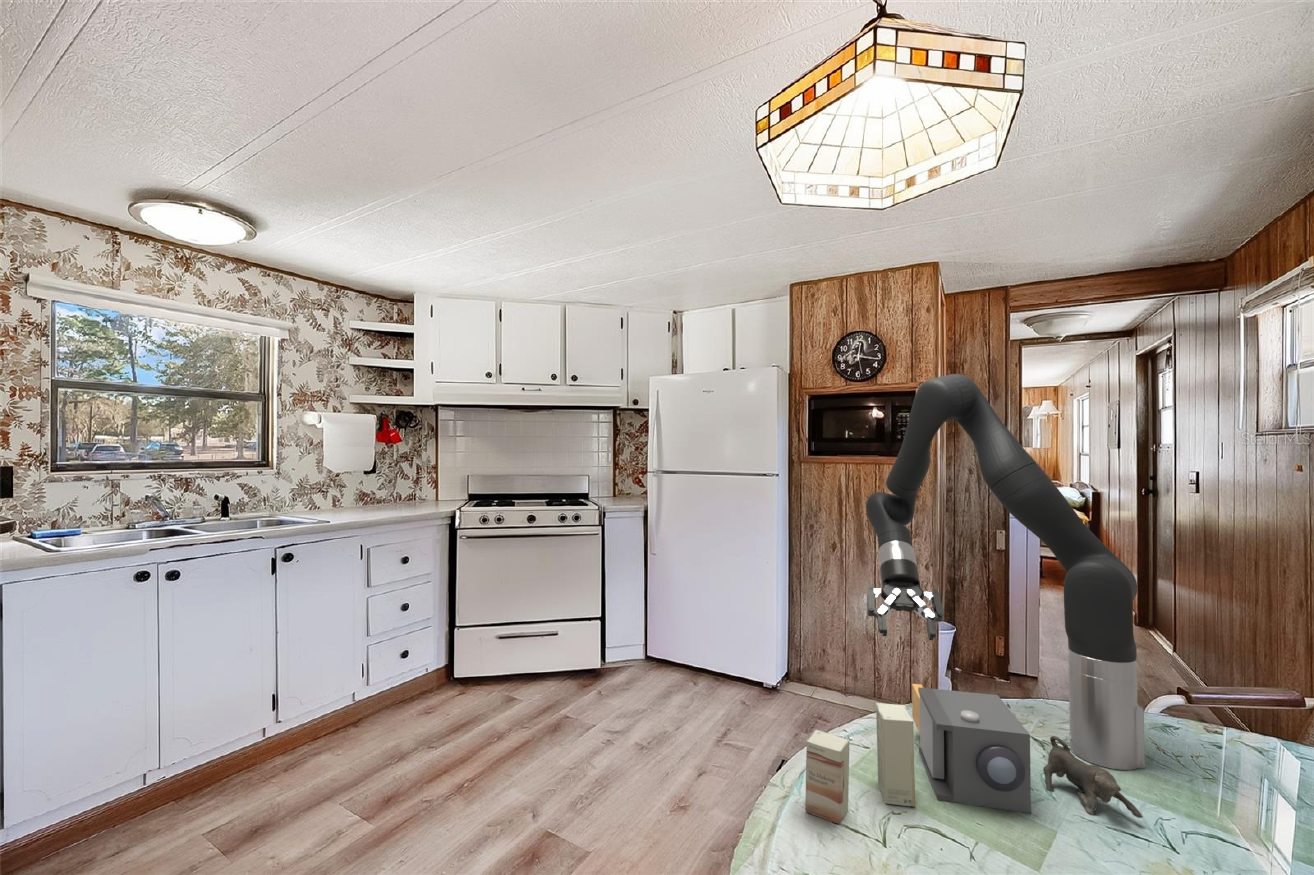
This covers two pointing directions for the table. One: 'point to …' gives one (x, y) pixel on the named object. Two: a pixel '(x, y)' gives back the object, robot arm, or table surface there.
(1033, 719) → the table surface
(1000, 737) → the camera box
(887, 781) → the skincare box
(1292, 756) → the table surface
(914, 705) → the door
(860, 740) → the table surface
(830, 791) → the skincare box
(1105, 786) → the dog figurine
